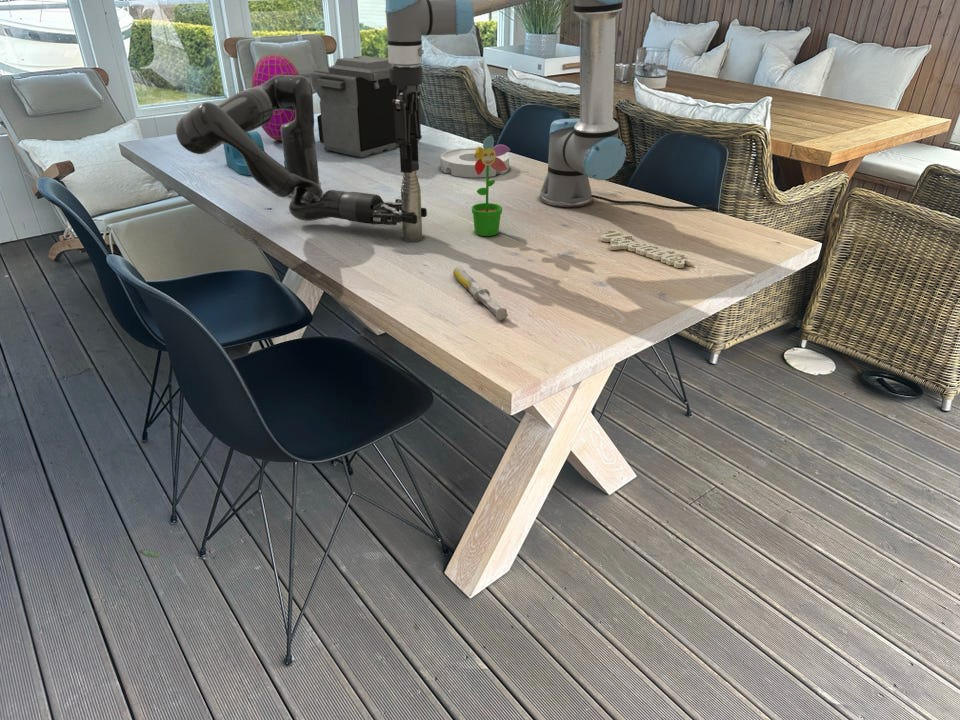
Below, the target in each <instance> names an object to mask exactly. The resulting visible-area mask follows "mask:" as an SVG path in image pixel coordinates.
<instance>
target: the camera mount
mask: <svg viewBox="0 0 960 720" xmlns="http://www.w3.org/2000/svg"><path fill="white" fill-rule="evenodd" d="M247 134H248V135H249V136H250V137H251V138H252V139H253V140H254V141H255V142H256V143H257V145H258V146H259V147H260V148H261V149H262V150H263V151H265V145H264V141H263V139H262V136H261V134H260V132H258V131H249V132H247ZM222 145H223V149H224V150H223V151H224V156H225V161H226V165H227V166H228V167H230V168H231V169H232V170H234V171H236V172H237V173H238V174H239V175H244V176H252V175H251V174H250V172H249V170H248V167H247V165H246V163H245V160H244V158H243V157H242V155H241V154H240V152H239V151H238V150H236V149H235V148H234V147H232V146H231V145H229V144H227V143H223V144H222Z"/></svg>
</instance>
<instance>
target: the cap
mask: <svg viewBox="0 0 960 720" xmlns="http://www.w3.org/2000/svg"><path fill="white" fill-rule="evenodd" d="M419 170H420V161H419V162H418V161H417V160H412V171H416V172H417V171H419Z"/></svg>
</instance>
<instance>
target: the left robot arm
mask: <svg viewBox="0 0 960 720" xmlns="http://www.w3.org/2000/svg"><path fill="white" fill-rule="evenodd" d="M312 87H313V86H312V83H311V82H310V79H309V78H308V77H306V76H304V75H300V76H295V75H277V76H275V77H273V78H271V79H269V80H268V81H266V82H265V83H263V84H262V85H260V86H256V87H253V88H252V87H251V88H247V89H244V90H242V91H239V92H236V93H234V94H233V95H230V96H229V97H227V98H226V99H224V100H223V101H220V103H218V104H216V103H213V102H209V101H206V102H205V101H204V102H202V103H200V104H198V105H197V106H195V107H194V108H192V109H191V110H190V111H188V112H186V113H185V114H183V115H182V116H181V118H179V120H178V122H177V124H176V128H175V134H176V135H175V136H176V138H177V141H178V142H179V144H180V145H181V146H182V147H183V148H184V149H185V150H187V151H188V152H190V153H192V154H197V155H206V154H208V153H211V152H212V151H213V150H216V148H218V147H220V146H221V145H224V144H223V143H227V144H229V145H231V146H232V147H234V148H235V149H236V150H238V151H239V152H240V154H241V155H242V157H243V158H244V160H245V163H246V165H247V167H248V170H249V172H250V174H251V175H250V176H251V177H252V178H253V180H255V181H256V182H257V183H258V184H259V185H261V186H262V187H263V188H265V189H266V190H267V191H269V192H270V193H272V194H273V195H275V196H276V197H278V198H286V197H288V196H289V197H291V199H290V202H289V205H288V211H289V213H290V215H292V216H293V218H295V219H297V220H300V221H305V222H310V221H316V220H324V219H331V218H333V219H340V220H346V221H349V222H352V223H360V224H367V225H373V226H374V225H375V226H376V225H382V226H383V225H386V226H397V225H398V224H403V222H405V223H412V224H416V223H417V222H418V218H417V215H416V214H409V213H403V214H402V202H401V198H395V200H394V201H395V202H393V201H384V200H383V198H382V197H381V195H379V194H374V193H368V192H367V193H366V192H358V191H344V190H335V189H330V190H326V191H325V193H324V192H323V189H322V184H321V183H322V182H321V181H320V174H319V166H318V165H319V164H318V157H317V148H316V140H315V139H316V138H315V114H314V113H315V112H314V98H313V97H314V96H313V95H314V94H313V88H312ZM274 110H291V111H295V119H294V120H293V121H291V122H288V123H285V124H283V125H282V126H281V128H280V129H281V137H282V141H281V145H282V151H283V159H284V161H283V165H282V164H281V163H279V162H278V161H277V160H275V159H274V158H273V157H272V156H270V154H268V153H267V152H266V151H265V150H264V151H263V150H262V149H261V148H260V147H259V146H258V145H257V143H256V142H255V141H254V140H253V139H252V138H251V137H250V136H249V135H248V134H247V132H253V131H254V130H257V129H259V128H262V127H261V126H263V125H265V124H266V123H268V122H269V121H270V119H271V118H272V115H273V111H274ZM427 216H428V210H427V208H426V207H422V206H421V217H422V218H426V217H427Z"/></svg>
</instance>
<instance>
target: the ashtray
mask: <svg viewBox="0 0 960 720" xmlns="http://www.w3.org/2000/svg"><path fill="white" fill-rule="evenodd" d="M482 148H483V147H482ZM476 149H477V147H463V148H454V149H449V150H446V151H444V152H442V153H441V154H440V155H439V156H440V157H439V159H440V170H441V172H443V173H446V174H451V175H452V176H454V177H461V178H486V166H485V168H484V170H483V171H482V173H481V174H479V175H478V174H477V172H476V170H475V163H476V162H477V160H479V159H477V158H475V157H474V154H475V151H476ZM483 149H484V148H483ZM498 158H499V159H501V160H502V161H503V162H504V164H505V165H506V167H507V170H503V171H498V170H495V169H494V168H492V167H491V165H489V178H490V177H496V175H503V174H505V173H507V172H509V169H510V156H509V154H508V153H505V154H503V155H501V156H498Z"/></svg>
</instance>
